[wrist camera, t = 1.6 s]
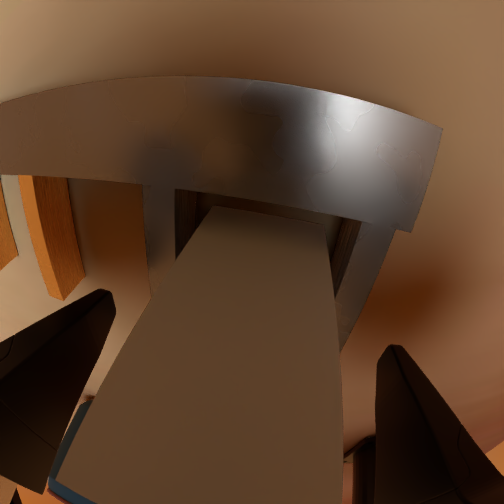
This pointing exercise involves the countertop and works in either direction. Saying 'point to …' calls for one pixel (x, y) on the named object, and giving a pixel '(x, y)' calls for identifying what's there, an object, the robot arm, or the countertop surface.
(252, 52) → the countertop surface
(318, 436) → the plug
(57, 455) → the soda can
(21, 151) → the grey comb shape
